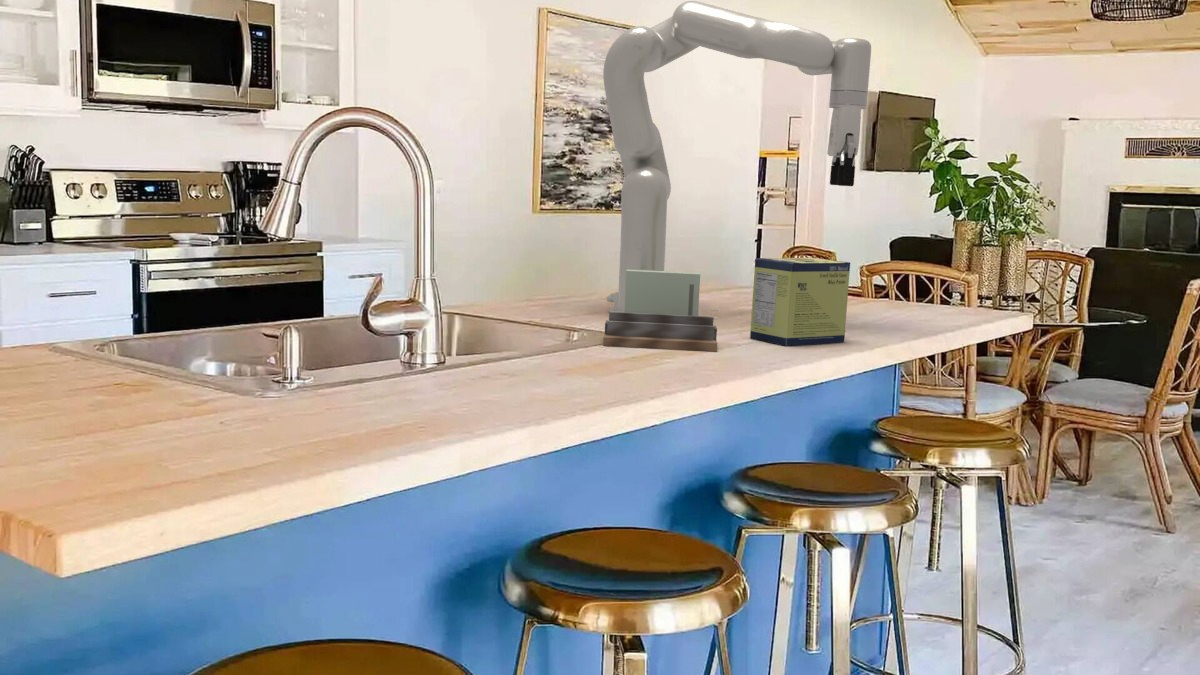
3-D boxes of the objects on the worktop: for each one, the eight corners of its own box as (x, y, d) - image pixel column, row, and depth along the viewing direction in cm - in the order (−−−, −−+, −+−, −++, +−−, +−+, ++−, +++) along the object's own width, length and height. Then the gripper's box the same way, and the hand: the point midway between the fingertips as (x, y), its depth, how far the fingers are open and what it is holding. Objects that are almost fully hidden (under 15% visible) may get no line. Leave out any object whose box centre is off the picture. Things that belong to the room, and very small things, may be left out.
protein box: (845, 342, 225) (851, 261, 223) (786, 347, 216) (792, 262, 214) (807, 335, 234) (812, 256, 231) (748, 338, 225) (753, 257, 222)
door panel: (623, 333, 225) (626, 270, 223) (623, 331, 228) (626, 269, 226) (696, 337, 224) (700, 274, 222) (696, 334, 227) (699, 272, 225)
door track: (603, 345, 207) (604, 317, 207) (606, 336, 219) (607, 309, 219) (716, 351, 207) (718, 323, 206) (713, 341, 218) (715, 314, 218)
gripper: (823, 102, 249) (816, 184, 251) (836, 97, 232) (829, 185, 234) (858, 104, 249) (852, 185, 251) (874, 99, 232) (867, 187, 234)
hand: (841, 185), depth 243 cm, fingers open, 9 cm apart
